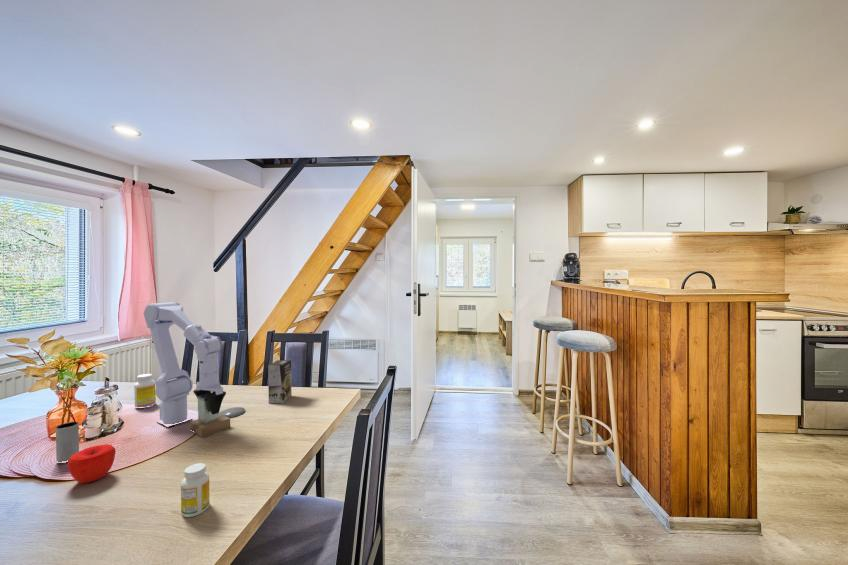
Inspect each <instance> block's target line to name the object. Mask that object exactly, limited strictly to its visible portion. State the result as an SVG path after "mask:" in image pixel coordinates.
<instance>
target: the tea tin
mask: <svg viewBox="0 0 848 565" xmlns="http://www.w3.org/2000/svg"><path fill="white" fill-rule="evenodd" d="M209 394H213V392H211V393H208V394H204V395H201V396H198V399H197V419H198V422H200V423H202V424H204V425H205V424H208V423H211V422H214V421H217V420H219V413H216V414H212V413H211V409H210V403H209V401H208V399H207V397H206V395H209Z"/></svg>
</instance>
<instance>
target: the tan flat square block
mask: <svg viewBox="0 0 848 565" xmlns="http://www.w3.org/2000/svg"><path fill="white" fill-rule="evenodd" d="M230 427H231V418H228V417H226V416H223V415H221V414H219V420H217V421H214V422H211V423H208V424H205V425H204V424H202V423H200V422H198V418H197V419H195V420H190V421H189V431H190V430H192V431H194V432H195V433H196V434H195V433H194V434H195V435H197V436H199V437H201V438H204V437H207V436H210V435H213V434H215V433H218V432H220V431H222V430H225V429H228V428H230ZM192 431H191V432H192Z"/></svg>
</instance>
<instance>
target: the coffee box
mask: <svg viewBox="0 0 848 565" xmlns="http://www.w3.org/2000/svg"><path fill="white" fill-rule="evenodd" d="M267 367H268V372H267V373H268V374H267V375H268V376H267V378H268V403H269V404H283V403H285V402H286V401H287V400H288V399H290V397H292V394H293V393H292V360H291V359H283V360H281V359H279V360H276V361H273V362H272V363H269V364H268V365H267Z"/></svg>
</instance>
